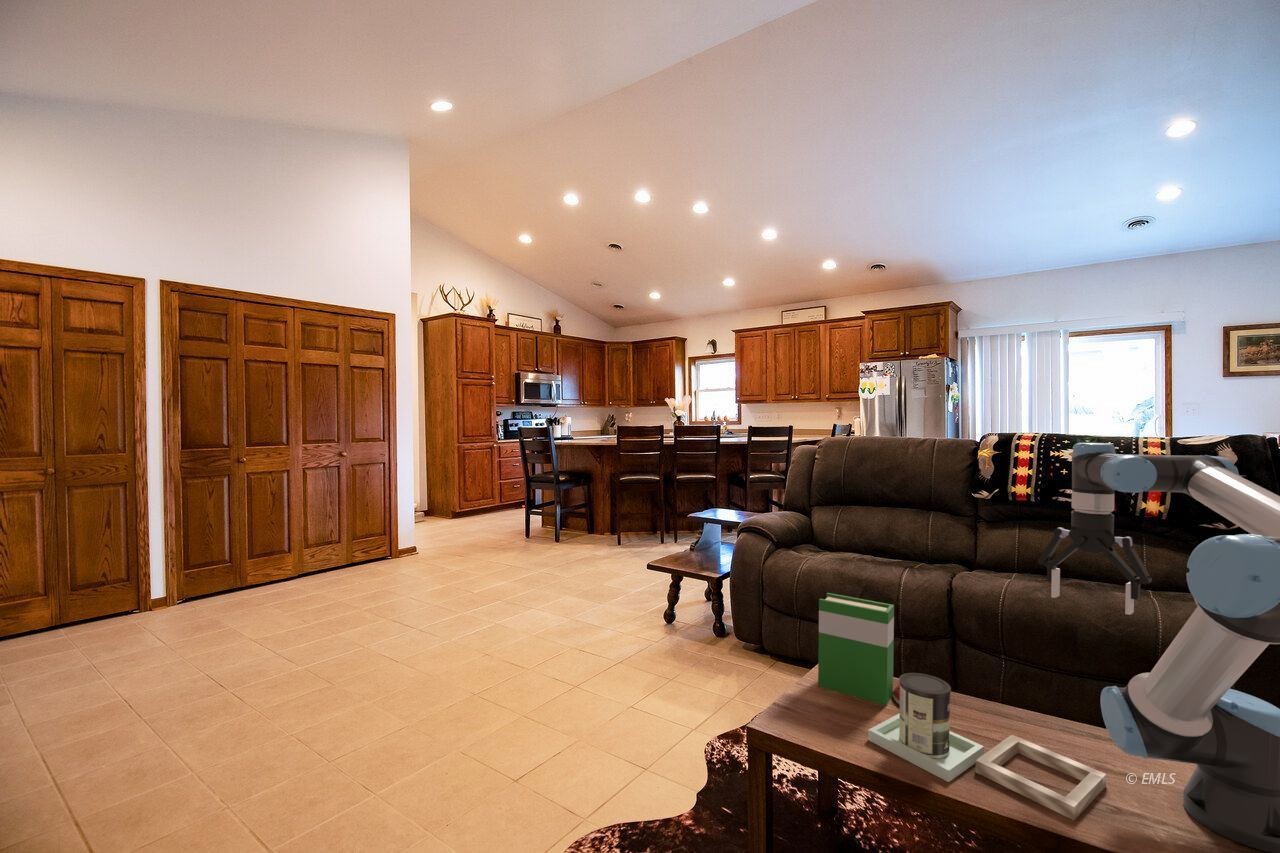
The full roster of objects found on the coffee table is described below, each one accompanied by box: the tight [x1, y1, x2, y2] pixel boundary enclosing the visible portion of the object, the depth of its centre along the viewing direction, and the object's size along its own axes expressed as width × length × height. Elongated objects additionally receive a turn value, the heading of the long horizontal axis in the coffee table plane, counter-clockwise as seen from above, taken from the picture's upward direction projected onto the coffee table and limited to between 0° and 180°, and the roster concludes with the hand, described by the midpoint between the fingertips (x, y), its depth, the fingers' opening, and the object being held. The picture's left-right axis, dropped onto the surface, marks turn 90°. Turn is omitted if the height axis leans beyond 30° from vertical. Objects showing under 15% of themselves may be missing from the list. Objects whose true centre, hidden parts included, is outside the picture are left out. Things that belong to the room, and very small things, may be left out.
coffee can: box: [898, 672, 952, 759], centre depth 125 cm, size 10×10×14 cm
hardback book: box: [817, 592, 895, 707], centre depth 152 cm, size 18×7×24 cm, turn 55°
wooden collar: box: [975, 734, 1107, 821], centre depth 114 cm, size 17×17×2 cm
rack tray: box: [867, 712, 985, 783], centre depth 125 cm, size 18×15×2 cm
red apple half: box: [892, 684, 900, 706], centre depth 146 cm, size 7×10×4 cm
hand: (1090, 604), depth 127 cm, fingers open, 13 cm apart
